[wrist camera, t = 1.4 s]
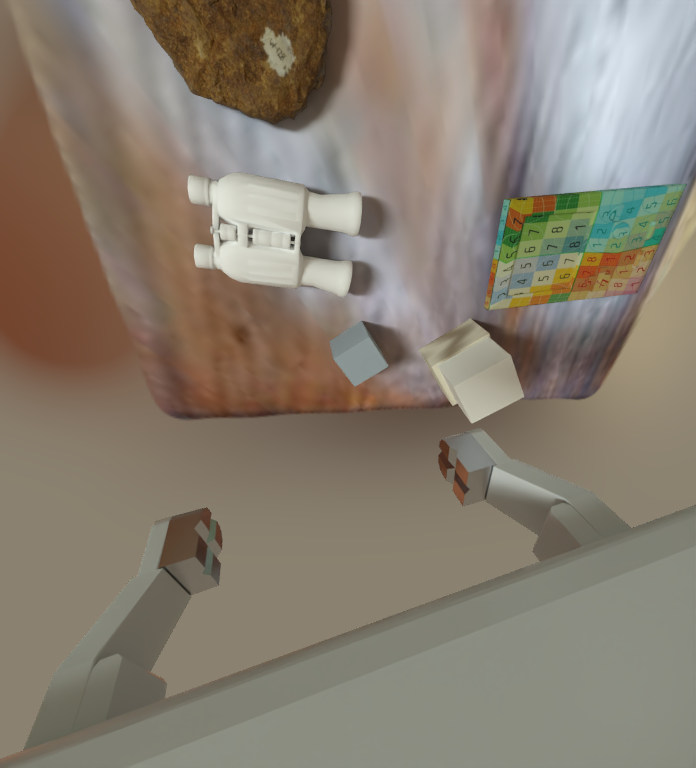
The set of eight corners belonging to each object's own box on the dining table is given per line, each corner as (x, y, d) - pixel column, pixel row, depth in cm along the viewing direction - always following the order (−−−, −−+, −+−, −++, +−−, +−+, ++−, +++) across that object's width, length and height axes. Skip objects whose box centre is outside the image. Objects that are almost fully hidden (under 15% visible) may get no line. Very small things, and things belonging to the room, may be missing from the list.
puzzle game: (643, 295, 39) (492, 313, 37) (612, 284, 43) (473, 300, 41) (696, 184, 32) (515, 200, 31) (653, 183, 36) (490, 197, 35)
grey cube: (361, 320, 40) (369, 336, 36) (379, 348, 43) (388, 366, 39) (329, 341, 41) (333, 359, 37) (349, 367, 44) (354, 386, 40)
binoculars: (343, 291, 38) (349, 303, 34) (203, 273, 35) (192, 285, 31) (359, 192, 32) (367, 194, 29) (194, 160, 29) (179, 157, 25)
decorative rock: (143, 93, 27) (317, 136, 30) (124, 85, 23) (321, 135, 27) (110, -142, 20) (336, -51, 24) (77, -199, 17) (345, -83, 20)
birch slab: (470, 318, 42) (488, 333, 38) (486, 359, 47) (505, 377, 42) (418, 349, 44) (431, 366, 40) (439, 386, 48) (452, 405, 44)
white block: (488, 336, 38) (511, 355, 34) (502, 375, 42) (524, 396, 38) (437, 365, 40) (453, 386, 36) (455, 400, 43) (471, 423, 39)
